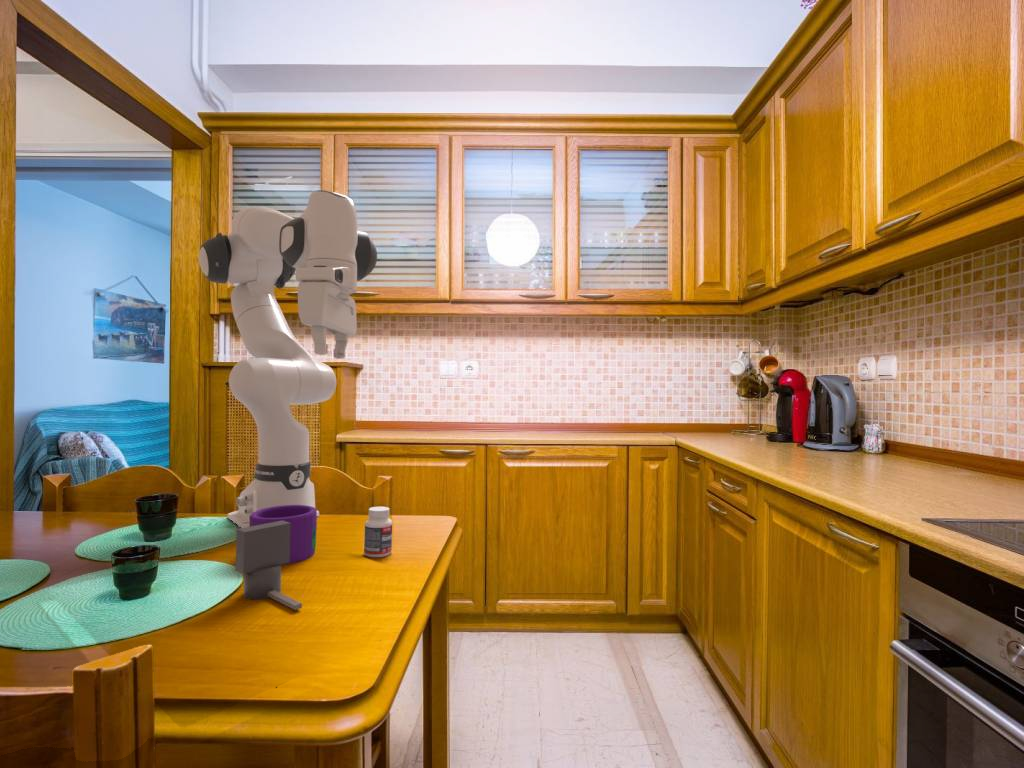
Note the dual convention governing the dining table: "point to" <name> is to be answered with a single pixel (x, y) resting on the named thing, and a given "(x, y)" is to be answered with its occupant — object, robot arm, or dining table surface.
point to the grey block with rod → (264, 560)
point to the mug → (292, 527)
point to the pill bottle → (378, 533)
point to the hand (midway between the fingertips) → (330, 356)
